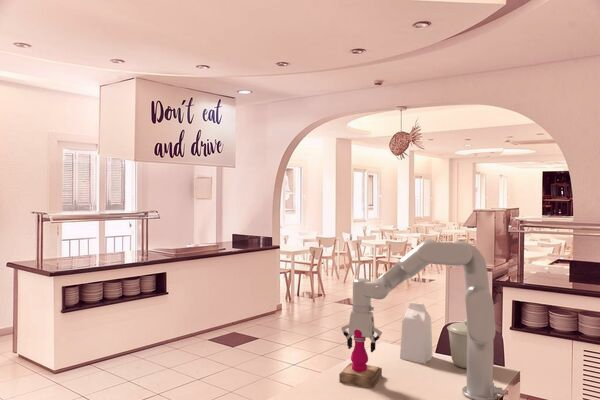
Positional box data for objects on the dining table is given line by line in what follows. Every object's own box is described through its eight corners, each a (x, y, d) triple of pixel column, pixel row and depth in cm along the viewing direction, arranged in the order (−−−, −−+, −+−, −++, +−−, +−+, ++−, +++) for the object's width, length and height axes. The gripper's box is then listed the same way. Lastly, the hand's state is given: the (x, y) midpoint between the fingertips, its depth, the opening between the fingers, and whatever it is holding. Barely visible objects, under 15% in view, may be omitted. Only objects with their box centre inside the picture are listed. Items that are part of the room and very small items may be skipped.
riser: (381, 376, 198) (381, 366, 198) (372, 388, 185) (372, 378, 185) (350, 370, 204) (350, 361, 204) (339, 382, 191) (339, 372, 191)
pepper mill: (367, 372, 191) (367, 324, 191) (349, 371, 192) (350, 323, 192) (368, 366, 198) (369, 319, 198) (351, 365, 199) (352, 318, 199)
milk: (432, 356, 223) (433, 302, 223) (425, 363, 214) (425, 307, 213) (408, 352, 230) (408, 299, 230) (399, 358, 220) (400, 303, 220)
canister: (484, 375, 200) (485, 326, 200) (442, 367, 209) (442, 320, 209) (492, 363, 215) (492, 317, 215) (452, 355, 225) (452, 312, 224)
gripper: (384, 309, 194) (383, 350, 194) (344, 304, 201) (344, 344, 202) (379, 313, 187) (379, 355, 188) (339, 308, 195) (338, 349, 195)
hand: (361, 349), depth 195 cm, fingers open, 9 cm apart
